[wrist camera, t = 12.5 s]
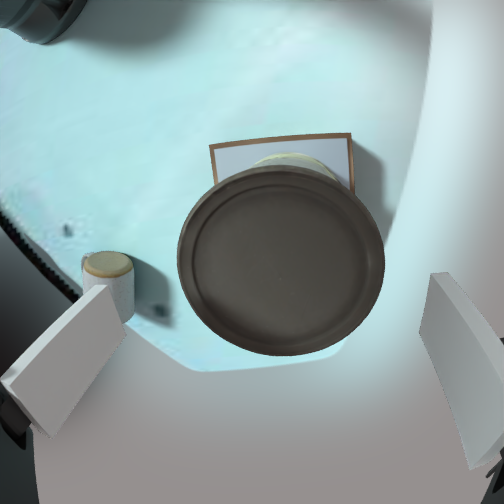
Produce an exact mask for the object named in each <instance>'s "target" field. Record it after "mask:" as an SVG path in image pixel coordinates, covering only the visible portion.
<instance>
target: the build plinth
mask: <svg viewBox="0 0 504 504" xmlns="http://www.w3.org/2000/svg"><path fill="white" fill-rule="evenodd" d="M209 148H210V156H211V163H212V170H213V177H214V184H215V185H216V184H218V183H219V182H221V181H222V180H224V179H226V178H228V177H230V176H232V175H234V174H236V173H239V172H241V171H244V170H246V169H248V168H250V167H251V166H253V165H254V164H255V163H256V162H258V161H260V160H261V159H263V158H265V157H267V156H270V155H273V154H276V153H282V152H295V153H301V154H305V155H308V156H311V157H313V158H315V159H317V160H319V161H320V162H322V163H323V164H324V165H325V166H327V167H328V168H329V169H330V170H331V171H332V173H333V174H334V175H335V177H336V178H337V179H338V180H339V181H340V182H341V184H342V185H343V186H345V187H346V188H348V189H349V190H350V191H351V192H352V193H353V194H354V195H355V189H354V167H353V151H352V138H351V133H326V134H306V135H291V136H279V137H268V138H258V139H249V140H240V141H233V142H225V143H218V144H211V145H209Z"/></svg>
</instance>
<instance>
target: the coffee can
mask: <svg viewBox="0 0 504 504" xmlns="http://www.w3.org/2000/svg"><path fill="white" fill-rule="evenodd" d="M177 268H178V274H179V279H180V282H181V286H182V289H183V291H184V294H185V296H186V298H187V300H188V302H189V304H190V305H191V307H192V309H193V310H194V312H195V313H196V315H197V316H198V317H199V318H200V319H201V320H202V322H203V323H204V324H205V325H206V326H208V327H209V328H210V329H211V330H212V331H213V332H214V333H216V334H217V335H218V336H220V337H221V338H223V339H225V340H226V341H228V342H230V343H232V344H234V345H236V346H238V347H240V348H243V349H245V350H248V351H251V352H254V353H258V354H263V355H269V356H296V355H303V354H308V353H312V352H316V351H319V350H322V349H325V348H327V347H329V346H331V345H334V344H335V343H337V342H339V341H341V340H342V339H344V338H345V337H346V336H348V335H349V334H350V333H351V332H353V331H354V330H355V329H356V328H357V327H358V326H359V325H360V324H361V323H362V322H363V320H364V319H365V318H366V317H367V316H368V314H369V313H370V311H371V309H372V308H373V306H374V304H375V302H376V301H377V298H378V296H379V293H380V291H381V287H382V283H383V278H384V272H385V271H384V270H385V255H384V247H383V243H382V239H381V236H380V233H379V230H378V228H377V225H376V223H375V221H374V220H373V218H372V216H371V214H370V213H369V211H368V210H367V208H366V207H365V206H364V204H363V203H362V202H361V201H360V200H359V199H358V198H357V197H356V196H355V195H354V194H353V193H352V192H351V191H350V190H349V189H348V188H346V187H345V186H343V185H342V184H341V182H340V181H339V180H338V179H337V178H336V177H335V175H334V174H333V173H332V171H331V170H330V169H329V168H328V167H327V166H325V165H324V164H323V163H322V162H320V161H319V160H317V159H315V158H313V157H311V156H308V155H305V154H301V153H295V152H282V153H276V154H273V155H270V156H267V157H265V158H263V159H261V160H260V161H258V162H256V163H255V164H254V165H253V166H251V167H250V168H248V169H246V170H244V171H241V172H239V173H236V174H234V175H232V176H230V177H228V178H226V179H224V180H222V181H221V182H219V183H218V184H216V185H215V186H213V187H212V188H211V189H210V190H209V191H208V192H206V193H205V194H204V195H203V196H202V197H201V198H200V199H199V201H198V202H197V203H196V204H195V206H194V207H193V208H192V210H191V211H190V213H189V214H188V216H187V218H186V220H185V222H184V225H183V227H182V230H181V233H180V237H179V241H178V247H177Z"/></svg>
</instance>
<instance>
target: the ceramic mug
mask: <svg viewBox="0 0 504 504" xmlns="http://www.w3.org/2000/svg"><path fill="white" fill-rule="evenodd" d="M81 269H82V275H83V295H84V294H85V293H87V292H88V291H89V290H90V289H91V288H92V287H93V286H94V285H108V288H109V290H110V293H111V296H112V299H113V302H114V304H115V307H116V310H117V312H118V315H119V318H120V320H121V323H122V324H123V323H125V322H127V321H128V320H130V319H131V318H132V316H133V314H134V312H135V299H134V295H135V294H134V267H133V263H132V261H131V260H130V259H129V258H128V257H127V256H126V255H124V254H122V253H119V252H114V251H101V252H97V253H94V252H91V253H87V254H84V255H83V257H82V260H81Z"/></svg>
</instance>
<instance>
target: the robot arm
mask: <svg viewBox="0 0 504 504" xmlns="http://www.w3.org/2000/svg"><path fill="white" fill-rule="evenodd" d="M86 2H87V0H0V28H7V29H9V30H11V31H12V32H14V33H16V34H17V35H19V36H21V37H22V39H24V40H25V41H27V42H30V43H36V44H44V43H47V42H49V41H51V40H53V39H55V38H56V37H58V36H59V35H60V34H61V33H63V32H64V31H65V30H66V29H67V28H68V27H69V26H70V24H71V23H72V22H73V21H74V20H75V18H76V17H77V16H78V14H79V13H80V12H81V10H82V8H83V7H84V5H85V3H86ZM419 334H420V336H421V338H422V340H423V342H424V345H425V347H426V349H427V351H428V354H429V356H430V358H431V360H432V363H433V365H434V368H435V370H436V372H437V375H438V377H439V380H440V382H441V385H442V387H443V390H444V392H445V395H446V398H447V400H448V403H449V406H450V409H451V411H452V414H453V417H454V420H455V423H456V426H457V429H458V432H459V435H460V438H461V442H462V445H463V448H464V451H465V455H466V459H467V462H468V466H469V470H471V469H474V468H476V467H479V466H481V465H484V464H487V463H489V462H490V461H491V460H492V459H493V458H494V457H495V456H496V455H497V454H498V453H499V452H500V454H501V457H502V459H501V460H500V461H499V462H498V463H497V464H496V465H495V466H494V467H493V468H492V469H491V470H490V471H489V472H488V474H487V475H486V478H488V477H490V476H491V475H492V474H493V473H494V472H495V473H494V475H493V478H492V480H491V483H490V485H489V487H488V489H487V492H486V494H485V496H484V498H483V500H482V502H481V504H504V338H500V339H499V338H498V336H497V335H496V333H495V332H494V330H493V329H492V328H491V327H490V325H489V324H488V322H487V321H486V319H485V318H484V317H483V316H482V314H481V313H480V311H479V310H478V309H477V308H476V306H475V305H474V304H473V302H472V301H471V300H470V299H469V297H468V296H467V295H466V294H465V292H464V291H463V290H462V289H461V288H460V286H459V285H458V284H457V283H456V282H455V280H454V279H453V278H452V277H451V276H450V275H449V273H447V272H444V273H433V274H431V275H430V282H429V288H428V293H427V299H426V304H425V308H424V313H423V317H422V322H421V326H420V330H419ZM125 337H126V333H125V330H124V328H123V325H122V323H121V320H120V318H119V315H118V312H117V310H116V307H115V304H114V302H113V299H112V296H111V293H110V290H109V288H108V285H94V286H93V287H92V288H91V289H90V290H89V291H88V292H87V293H85V294H84V295H83V296H82V297H81V298H80V299H79V300H78V301H77V302H76V303H74V304H73V305H72V306H71V307H70V308H69V309H68V310H67V311H66V312H65V313H64V314H63V315H62V316H61V317H60V318H58V319H57V320H56V321H55V322H54V323H53V324H52V325H51V326H50V327H49V328H48V329H47V330H46V331H45V332H44V333H43V334H42V335H41V336H40V337H39V338H38V339H37V340H36V341H35V342H34V343H33V344H32V345H31V346H30V347H29V348H28V349H27V350H26V351H25V352H24V353H23V354H22V355H21V356H20V357H19V358H18V359H17V361H16V362H15V363H14V364H13V365H12V366H11V367H10V368H9V369H8V370H7V371H6V372H5V374H4V375H3V376H2V377H1V378H0V504H39V499H38V491H37V484H36V475H35V464H34V448H33V432H32V430H31V428H30V427H29V425H30V424H31V423H32V424H33V425H34V426H35V427H36V428H37V429H38V431H39V432H40V433H42V434H44V435H46V436H47V437H49V438H51V439H53V438H54V436H55V435H56V433H57V432H58V430H59V429H60V427H61V426H62V424H63V423H64V421H65V420H66V418H67V417H68V415H69V414H70V412H71V411H72V410H73V408H74V407H75V405H76V404H77V402H78V401H79V400H80V398H81V397H82V395H83V394H84V392H85V391H86V389H87V388H88V387H89V385H90V384H91V382H92V381H93V380H94V378H95V377H96V376H97V374H98V373H99V372H100V370H101V369H102V367H103V366H104V365H105V363H106V362H107V360H108V359H109V358H110V356H111V355H112V353H113V352H114V351H115V350H116V348H117V347H118V346H119V344H120V343H121V342H122V340H123V339H124V338H125Z"/></svg>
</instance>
